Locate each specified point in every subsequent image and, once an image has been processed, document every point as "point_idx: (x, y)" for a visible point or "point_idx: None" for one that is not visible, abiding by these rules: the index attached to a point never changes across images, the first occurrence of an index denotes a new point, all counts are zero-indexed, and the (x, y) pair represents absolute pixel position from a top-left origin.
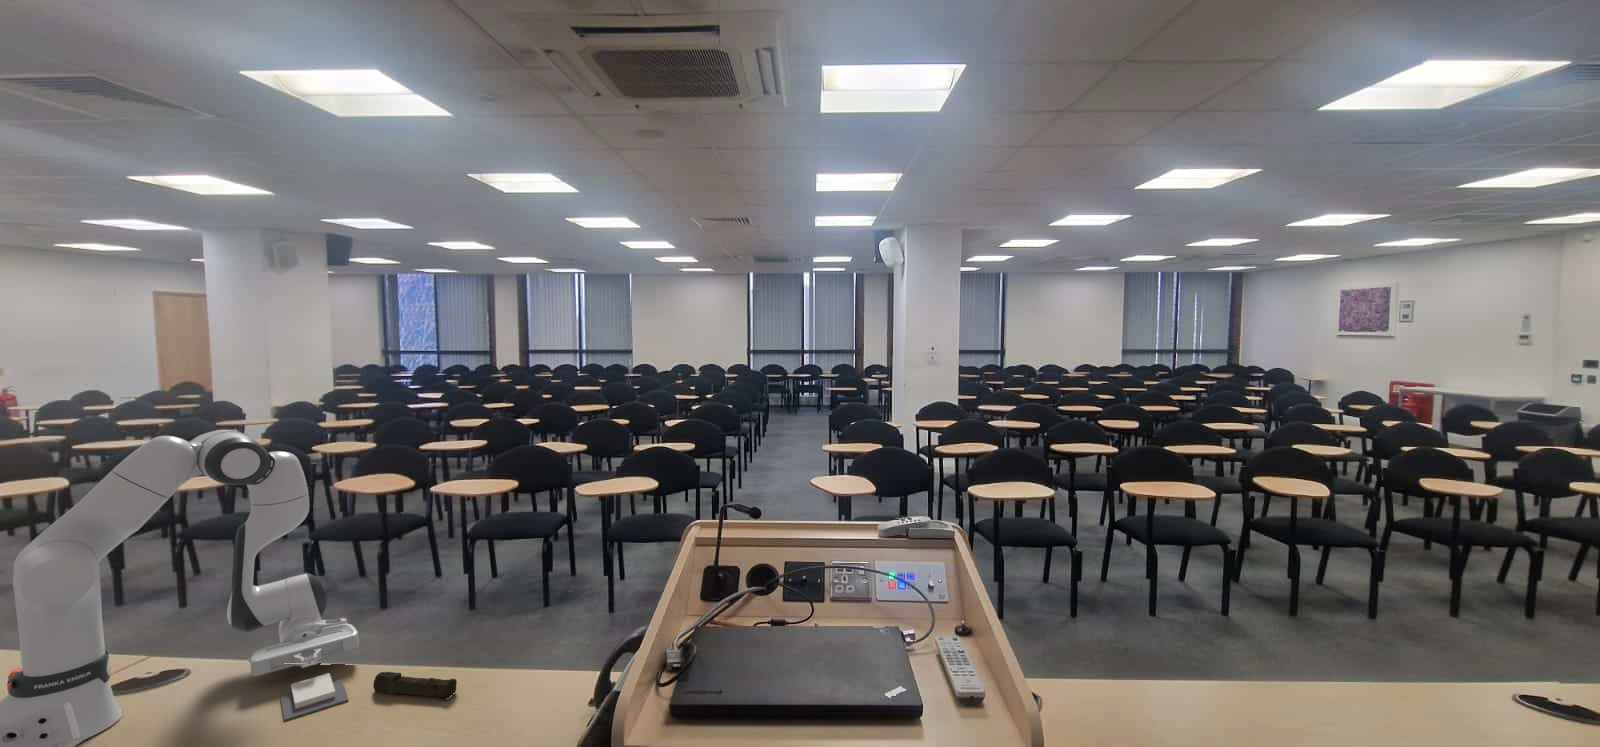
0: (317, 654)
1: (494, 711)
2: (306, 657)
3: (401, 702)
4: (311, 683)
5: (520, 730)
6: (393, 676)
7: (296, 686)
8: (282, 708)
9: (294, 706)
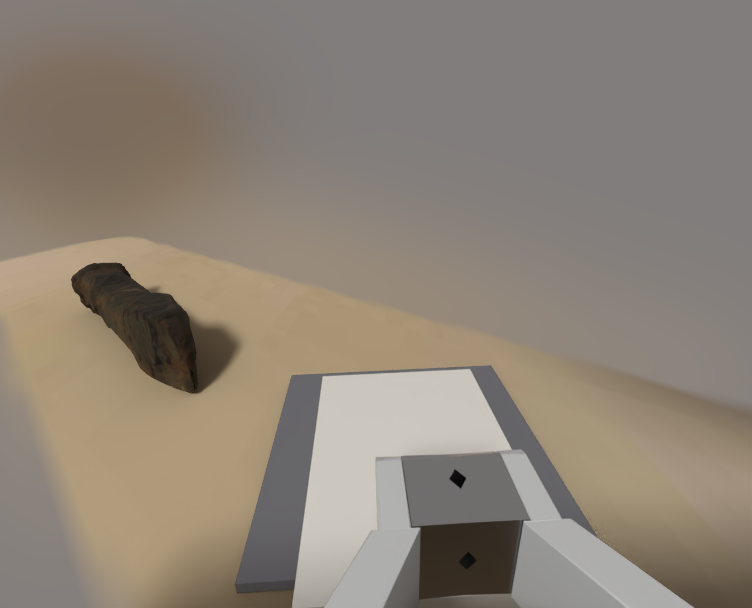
0: (366, 550)
1: None
2: (489, 499)
3: (191, 325)
4: None
5: (149, 245)
6: (157, 294)
7: None
8: (530, 429)
9: None
